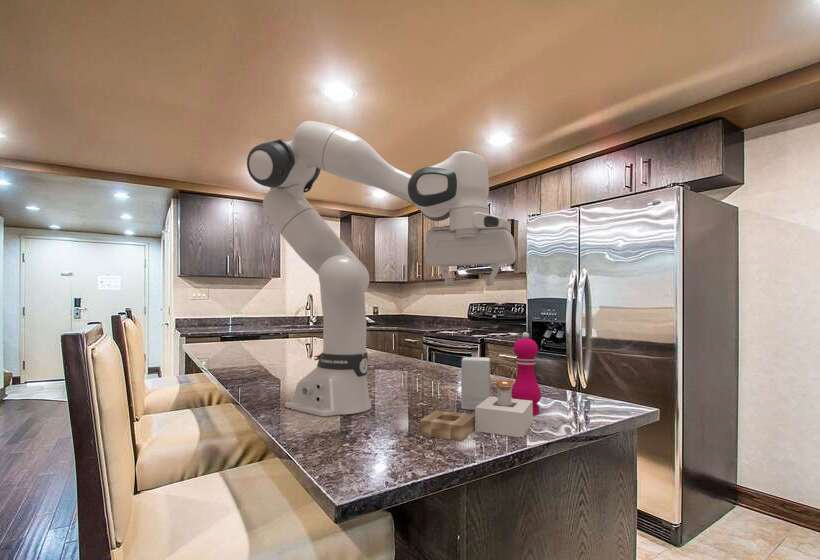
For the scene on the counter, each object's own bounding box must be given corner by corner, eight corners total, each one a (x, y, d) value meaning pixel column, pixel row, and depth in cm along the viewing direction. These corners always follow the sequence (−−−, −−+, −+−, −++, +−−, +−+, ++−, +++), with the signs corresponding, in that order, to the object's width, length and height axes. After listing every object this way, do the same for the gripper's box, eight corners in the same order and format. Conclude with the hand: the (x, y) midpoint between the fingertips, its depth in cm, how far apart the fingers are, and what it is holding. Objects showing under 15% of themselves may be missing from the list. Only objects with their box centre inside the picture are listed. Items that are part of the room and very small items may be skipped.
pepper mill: (517, 407, 111) (517, 330, 112) (545, 411, 107) (544, 332, 108) (506, 413, 105) (506, 332, 106) (535, 417, 101) (534, 333, 102)
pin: (493, 428, 92) (494, 381, 93) (497, 423, 96) (497, 379, 96) (511, 430, 91) (511, 383, 91) (514, 426, 94) (514, 380, 95)
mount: (420, 434, 87) (420, 420, 88) (436, 423, 96) (436, 410, 96) (461, 441, 84) (462, 425, 84) (475, 429, 92) (474, 415, 92)
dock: (475, 431, 90) (475, 407, 90) (489, 417, 101) (489, 396, 101) (523, 437, 86) (522, 412, 86) (532, 422, 97) (532, 400, 97)
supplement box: (489, 411, 107) (489, 360, 108) (460, 409, 109) (460, 359, 110) (490, 404, 115) (490, 357, 115) (462, 402, 116) (462, 356, 117)
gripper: (421, 225, 97) (420, 285, 96) (511, 218, 88) (511, 284, 87) (431, 229, 103) (431, 286, 102) (517, 223, 94) (517, 285, 93)
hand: (469, 285), depth 95 cm, fingers open, 8 cm apart
